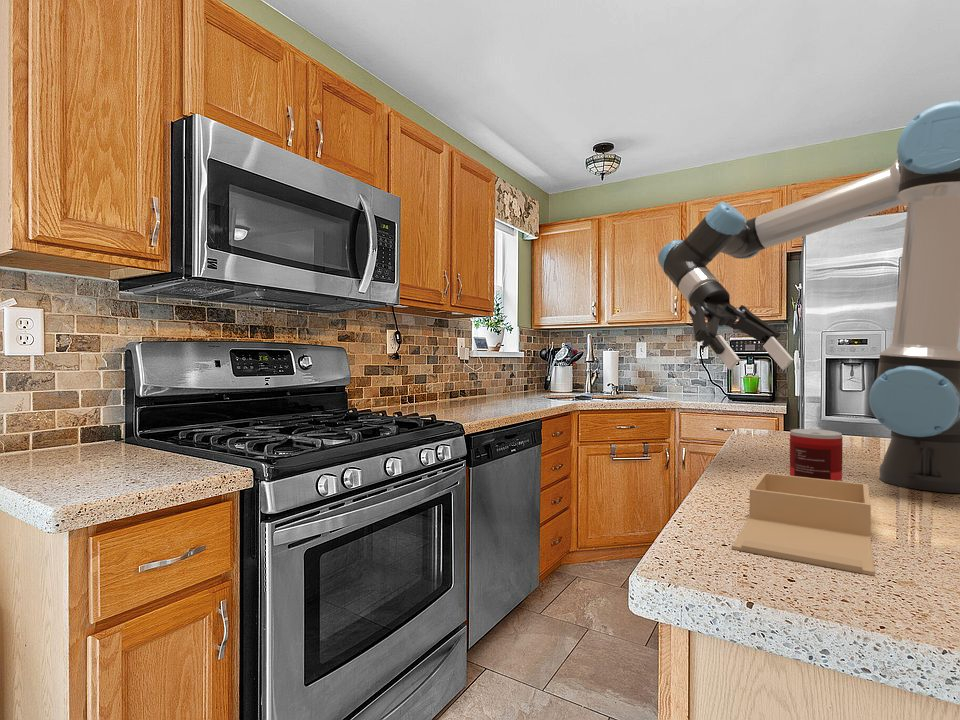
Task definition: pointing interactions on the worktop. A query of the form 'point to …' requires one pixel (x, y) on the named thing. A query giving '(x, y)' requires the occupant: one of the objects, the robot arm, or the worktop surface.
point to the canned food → (816, 454)
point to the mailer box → (810, 522)
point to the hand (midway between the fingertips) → (761, 364)
